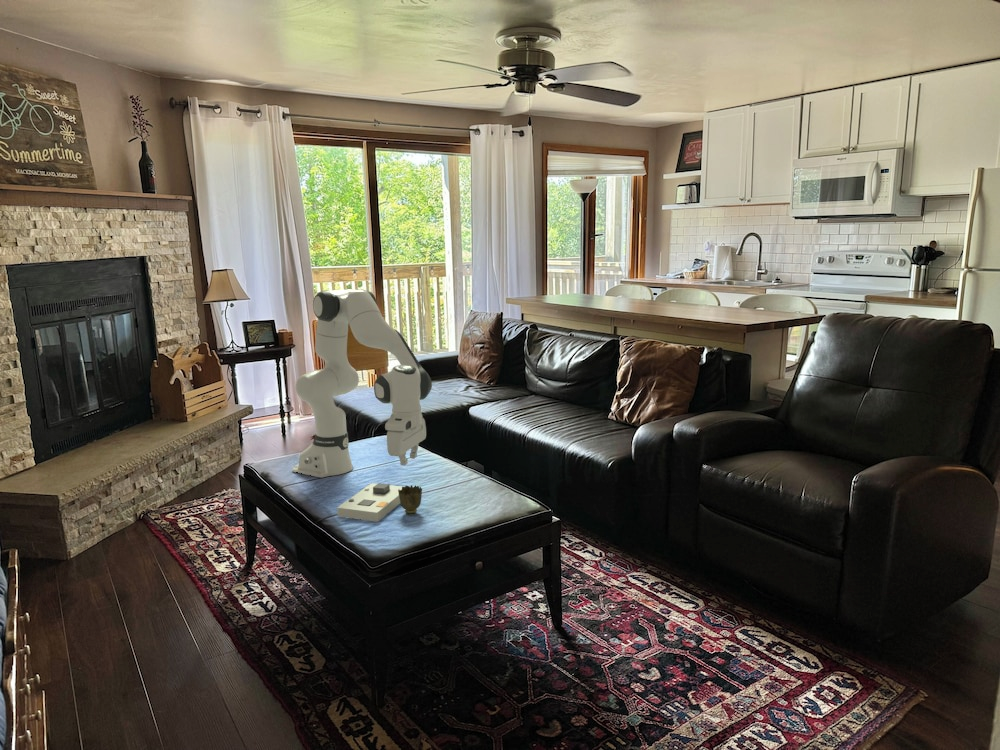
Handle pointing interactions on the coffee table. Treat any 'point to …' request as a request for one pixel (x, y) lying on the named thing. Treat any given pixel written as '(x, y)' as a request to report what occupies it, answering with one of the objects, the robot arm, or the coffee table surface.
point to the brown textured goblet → (410, 498)
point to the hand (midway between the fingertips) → (408, 461)
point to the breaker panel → (374, 511)
